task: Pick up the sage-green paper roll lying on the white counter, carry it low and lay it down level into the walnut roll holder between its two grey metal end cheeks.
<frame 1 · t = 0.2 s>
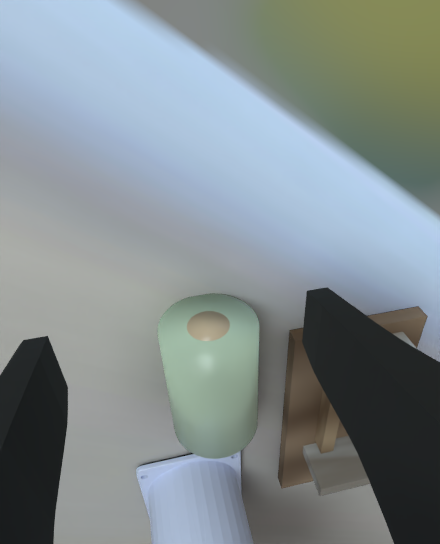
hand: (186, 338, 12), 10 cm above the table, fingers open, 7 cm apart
roll: (204, 344, 26), on the table
holder: (341, 387, 31), on the table
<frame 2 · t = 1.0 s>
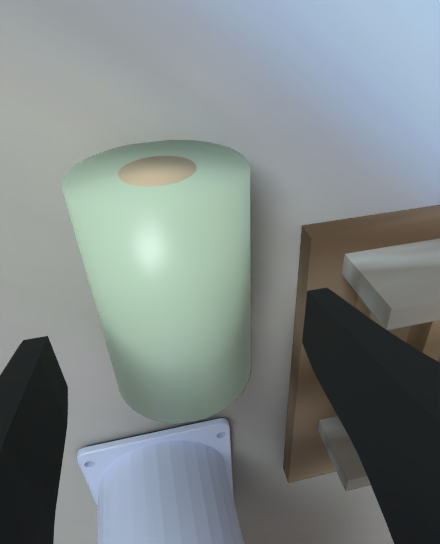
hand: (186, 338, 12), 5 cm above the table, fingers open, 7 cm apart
roll: (165, 244, 16), on the table
holder: (375, 332, 22), on the table
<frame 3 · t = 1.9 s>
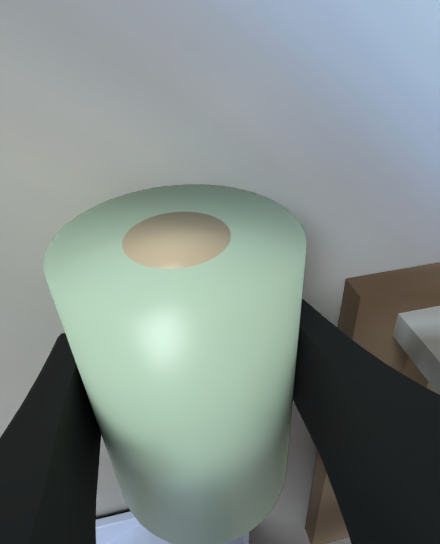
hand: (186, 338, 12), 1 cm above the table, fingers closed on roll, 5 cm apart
roll: (179, 306, 13), on the table, touching gripper
holder: (420, 389, 19), on the table
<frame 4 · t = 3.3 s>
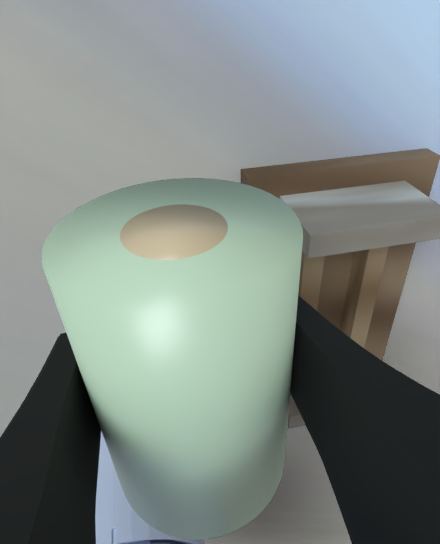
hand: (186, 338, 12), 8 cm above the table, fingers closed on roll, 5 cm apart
roll: (177, 301, 13), point 7 cm above the table, touching gripper
holder: (320, 281, 23), on the table
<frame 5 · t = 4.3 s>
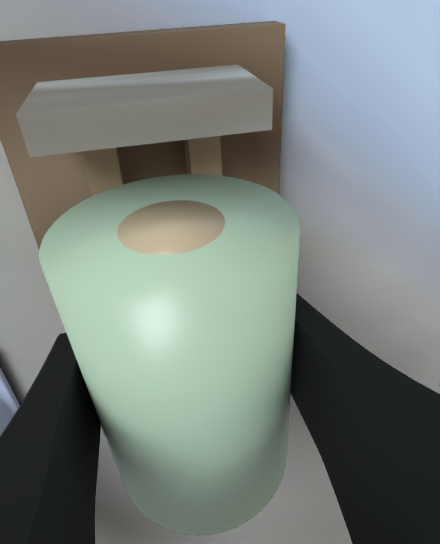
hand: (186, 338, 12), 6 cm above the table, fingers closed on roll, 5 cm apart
roll: (175, 298, 13), point 5 cm above the table, touching gripper
holder: (162, 230, 17), on the table
when the fingers open (4 cm above the table, at t = 5.2 s): roll stays where it is, resting on holder.
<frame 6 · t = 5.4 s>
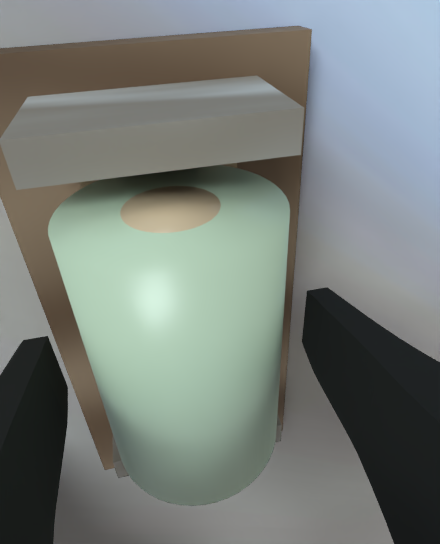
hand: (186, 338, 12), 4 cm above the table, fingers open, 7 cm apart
roll: (171, 283, 14), point 2 cm above the table, touching holder
holder: (168, 255, 15), on the table
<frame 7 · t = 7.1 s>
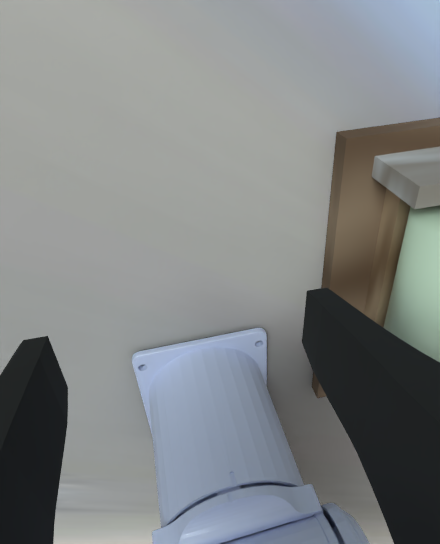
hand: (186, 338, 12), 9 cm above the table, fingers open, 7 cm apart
roll: (417, 261, 22), point 2 cm above the table, touching holder
holder: (398, 244, 24), on the table
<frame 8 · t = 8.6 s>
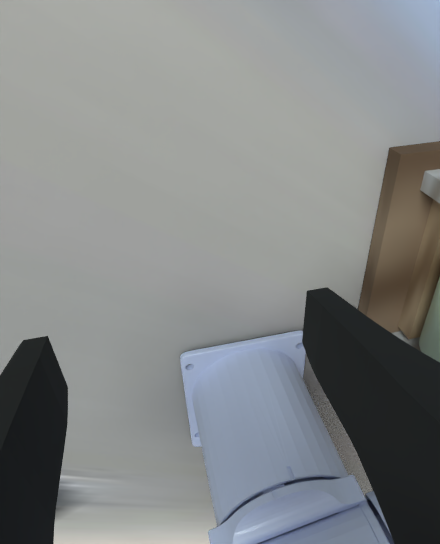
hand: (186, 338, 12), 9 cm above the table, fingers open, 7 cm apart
holder: (436, 253, 25), on the table
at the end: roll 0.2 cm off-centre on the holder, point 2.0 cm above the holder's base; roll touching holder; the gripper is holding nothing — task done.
